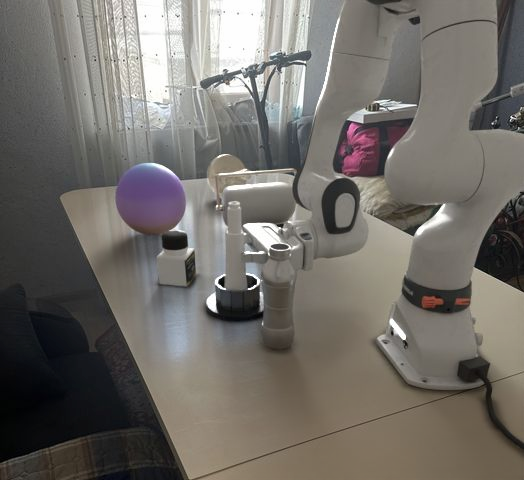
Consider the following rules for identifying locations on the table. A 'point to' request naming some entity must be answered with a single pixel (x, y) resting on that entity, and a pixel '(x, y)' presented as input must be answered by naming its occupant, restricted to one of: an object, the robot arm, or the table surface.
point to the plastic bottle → (278, 297)
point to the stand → (236, 301)
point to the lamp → (250, 192)
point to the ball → (150, 199)
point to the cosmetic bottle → (234, 250)
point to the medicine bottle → (176, 259)
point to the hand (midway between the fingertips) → (234, 249)
